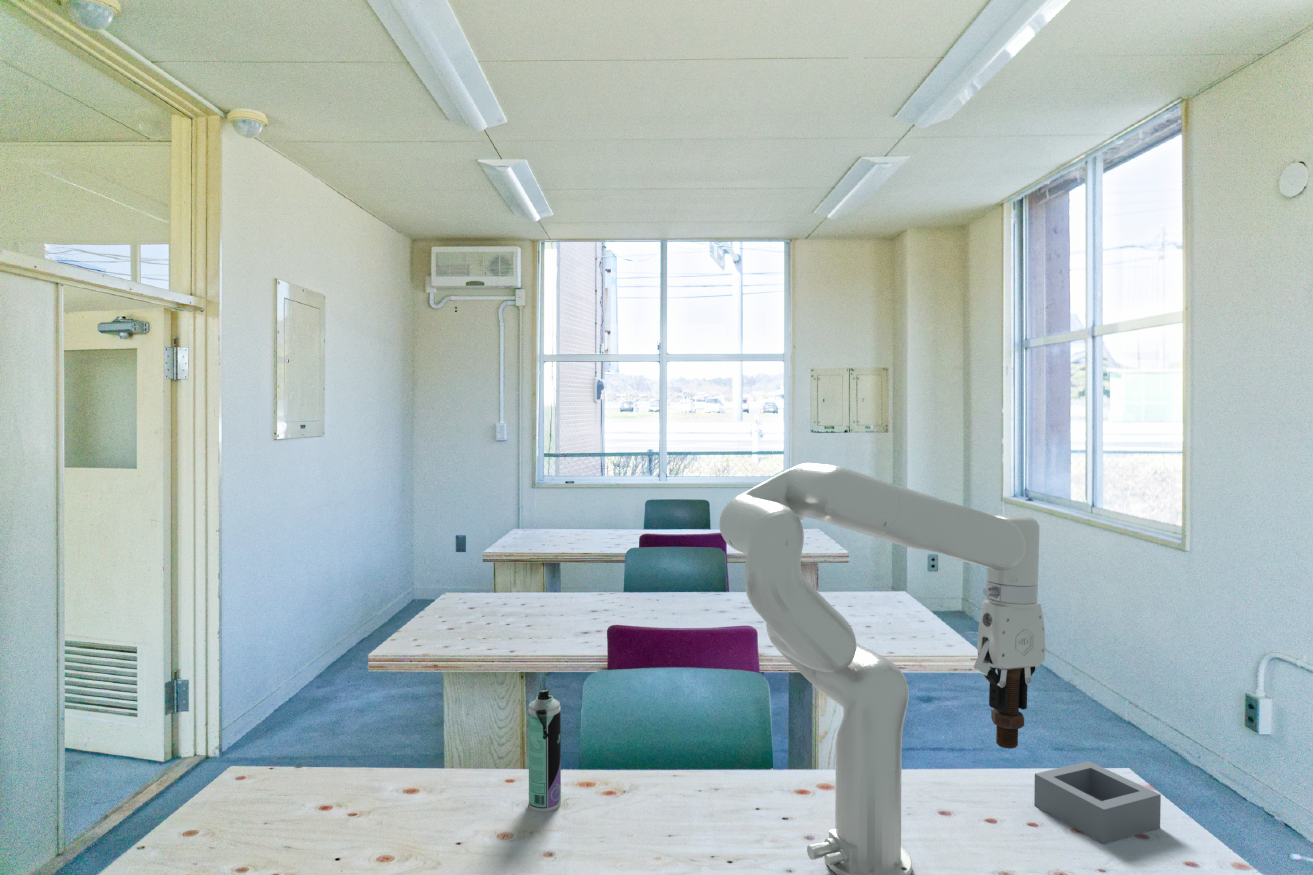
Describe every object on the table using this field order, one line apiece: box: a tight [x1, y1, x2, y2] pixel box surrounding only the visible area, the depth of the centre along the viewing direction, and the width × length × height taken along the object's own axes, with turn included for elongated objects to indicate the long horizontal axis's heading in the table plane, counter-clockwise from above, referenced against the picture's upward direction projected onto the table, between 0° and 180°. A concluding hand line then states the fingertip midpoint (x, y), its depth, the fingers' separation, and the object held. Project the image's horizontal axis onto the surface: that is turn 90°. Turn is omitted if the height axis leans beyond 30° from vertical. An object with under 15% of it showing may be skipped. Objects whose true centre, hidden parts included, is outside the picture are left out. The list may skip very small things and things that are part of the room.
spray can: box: [528, 688, 562, 814], centre depth 131 cm, size 6×6×20 cm
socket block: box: [1033, 760, 1162, 845], centre depth 127 cm, size 13×13×6 cm
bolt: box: [990, 668, 1025, 750], centre depth 121 cm, size 6×5×15 cm
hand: (1007, 706), depth 121 cm, fingers closed on bolt, 3 cm apart
